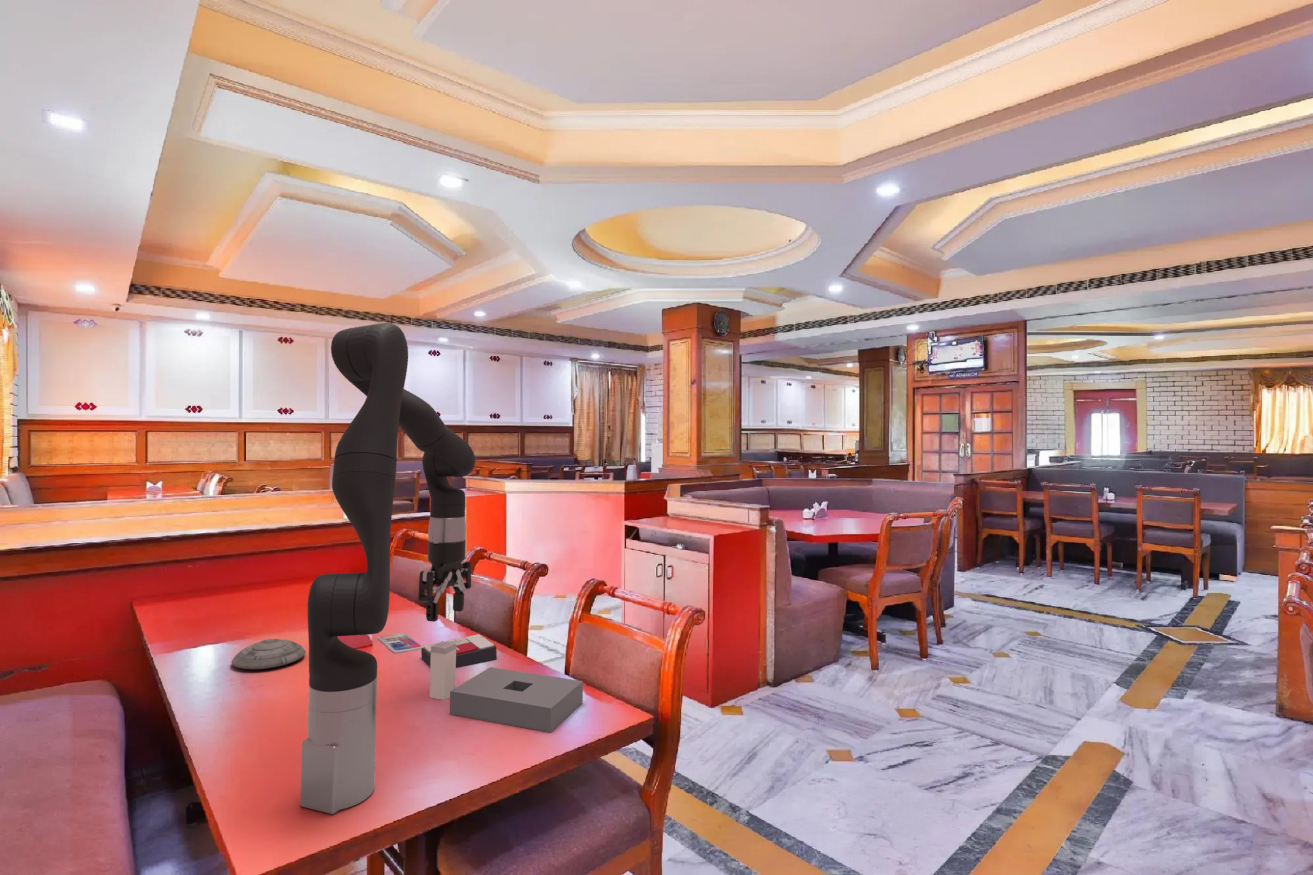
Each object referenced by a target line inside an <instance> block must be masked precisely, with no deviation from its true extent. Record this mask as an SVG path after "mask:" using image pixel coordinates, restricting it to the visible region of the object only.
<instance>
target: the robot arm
mask: <svg viewBox="0 0 1313 875" xmlns="http://www.w3.org/2000/svg"><path fill="white" fill-rule="evenodd" d="M330 354H331V357H332V361H333V363H334V365H335V367H336V368H337V370H338V371H339V372H340V374H342V376H343V377H344V378H345V380H348V382H349V383H351V385H352V386H354V387H355V388H356V389H358V390H359V392H361V393H362V394H364V396H365V397H366V398H365V401H364V403H363V405H362V406H361V407H360V409H359V411H358V412H357V414H356V415H355V417H354V418H353V419H352V421H351V422H350V423H349V426H347V428H346V430H345V431H344V432H343V434H342V436H341V437H340V439H339V441H338V443H337V445H336V449H335V452H334V459H333V470H332V478H331V479H332V480H331V487H332V493H333V496H334V497H335V499H336V501H337V503H338V505H339V506H340V508H341V510H342V511H343V513H344V515H345V517H346V518H347V519H348V521H349V522H350V524H351V526H352V527H353V529H354V530H355V533H356V535H357V536H358V540H360V542H361V545H362V548H363V551H364V554H365V561H366V572H342V573H336V572H335V573H323V574H320V575H318V576H316V578H314V580H313V581H312V583H311V585H310V588H309V591H308V597H307V598H308V599H307V630H308V631H307V633H308V674H309V675H308V709H307V711H308V714H307V715H308V716H307V738H305V739H304V740H302V742H301V761H300V764H301V765H300V802H299V803H300V807H303V808H307V809H311V810H314V811H319V812H323V813H326V814H330V815H334V814H336V813H337V812H339V811H341V810H346V809H348V808H351V807H353V806H357V805H358V804H360V803H362V802H364V801H366V799H368V798H369V797H370V796H371V795H372V794H373V792H374V791H375V787H376V786H375V785H376V784H375V783H376V782H375V781H376V779H375V778H376V776H375V775H376V738H377V736H376V734H377V732H376V730H377V729H376V728H377V695H378V694H377V688H378V687H377V683H378V661H377V658H376V657H375V656H374V655H373V654H371V653H369V652H367V651H364V650H360V649H357V648H354V647H351V646H349V645H347V643H344V642H343V641H341V640H340V639H339V637H350V636H351V637H352V636H353V637H354V636H367V635H368V636H369V635H377V634H379V633H381V632H382V631H383V630H384V629H385V627H386V626H387V625H386V624H387V621H388V616H389V608H390V589H391V585H390V584H391V583H390V582H391V575H390V574H391V570H390V569H391V531H392V519H393V518H392V517H393V516H392V515H393V507H394V497H395V496H394V495H395V489H396V488H395V485H396V476H397V460H398V459H397V458H398V457H397V453H398V436H399V435H398V434H399V427H400V428H401V430H402V431H403V432H404V433H405V435H406V436H407V437H408V439H410V441H411V442H412V443H413V444H414V446H415V447H416V448H417V449H418V450H419V451H421V452H423V454H422V455H423V456H422V464H421V465H422V469H423V474H424V476H425V481H426V485H427V489H428V493H429V497H430V498H429V499H430V502H429V504H430V505H429V507H430V508H429V509H430V510H429V511H430V512H429V523H428V531H427V532H428V533H427V534H428V536H427V539H428V541H427V561H428V562H429V563H430V564H431V568H430V570H421V571H420V572H419V582H418V583H419V584H418V594H417V595H418V597H417V598H418V601H419V602H425V604H426V605H425V617H426V621H427V622H432V623H433V622H437V621H439V620H438V619H439V602H438V601H439V599H440V597H441V595H442V594H444V592H445V590H446V589H448V588H450V587H451V590H452V592H453V593H452V610H453V611H454V612H463V611H464V606H465V603H464V602H465V593H466V592H467V590H468V589H469V590H470V589H471V587H472V563H471V561H467V560H466V548H467V547H466V546H467V545H466V544H467V542H466V540H467V539H466V538H467V536H466V535H467V526H466V492H465V491H464V490H463V489H460V488H458V487H454V486H453V485H451V484H450V482H449V479H448V478H450V477H452V478H453V477H454V478H462V477H463V478H464V477H465V476H466V477H467V476H468V475H470V474H471V473H472V472H473V470H474V468H475V464H476V456H475V453H474V451H473V449H472V447H471V446H470V444H469V443H468V442H467V441H465V440H464V439H463V438H462V437H461V436H460V435H458V434H457V433H456V432H455V431H453V430H452V429H450V428H448V427H447V426H446V424H445V422H444V421H443V420H442V419H441V417H440V415H439V414H438V412H436V411H437V410H435V408H433V407H432V405H430V404H429V403H428V402H427V401H425V400H424V399H422V398H421V397H419V396H417V395H416V394H414V393H413V392H411V391H409V390H406V389H405V384H406V378H407V372H408V364H409V346H408V342H407V338H406V335H405V333H404V332H403V330H402V328H401V327H400V326H398V325H397V324H394V323H388V322H384V323H383V322H382V323H373V324H368V325H363V326H355V327H349V328H346V329H341V330H340V331H337V332H336V334H335V335H334V336H333V337H332V340H331V343H330ZM464 578H465V579H464ZM464 580H465V581H464ZM425 592H426V594H425ZM433 594H434V595H433Z"/></svg>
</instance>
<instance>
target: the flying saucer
mask: <svg viewBox="0 0 1313 875" xmlns="http://www.w3.org/2000/svg"><path fill="white" fill-rule="evenodd" d="M306 652H307V651H306V650H305V648H304V647H303V646H302V645H301V644H300V643H298V642H295V641H292V640H289V639H279V638H268V639H264V640H260V641H259V642H257V643H256V642H255V643H252V644H250V645H249V646H246V647H244V648H243V649H241V650H240V651H239V652H238V653H236V654H235V656H234V657H233V658H232V660H231V665H232V666H234V667H236V668H239V669H244V670H265V669H272V668H273V669H274V668H278V667H281V666H286V665H288V664H291V663H294V662H297V661H298V660H299V659H301V658H302V657H304V656H305V655H306Z"/></svg>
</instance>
